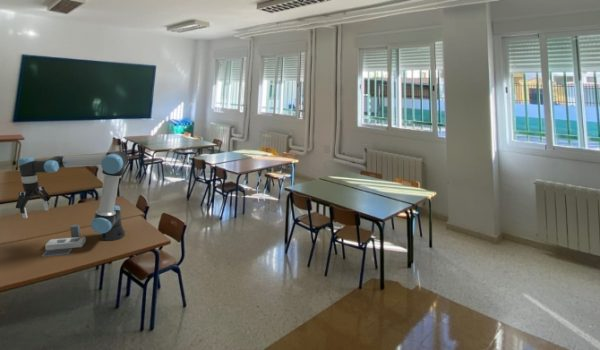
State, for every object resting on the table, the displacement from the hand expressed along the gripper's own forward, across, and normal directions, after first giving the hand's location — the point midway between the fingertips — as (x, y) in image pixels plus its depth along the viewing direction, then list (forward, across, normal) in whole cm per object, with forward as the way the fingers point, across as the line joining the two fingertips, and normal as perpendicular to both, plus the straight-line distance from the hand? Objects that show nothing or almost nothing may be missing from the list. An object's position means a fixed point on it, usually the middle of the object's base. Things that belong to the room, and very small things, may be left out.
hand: (36, 214), depth 200 cm
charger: (+24, -17, +9) cm, 31 cm away
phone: (+24, +3, +15) cm, 29 cm away
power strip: (+24, -7, +12) cm, 27 cm away
